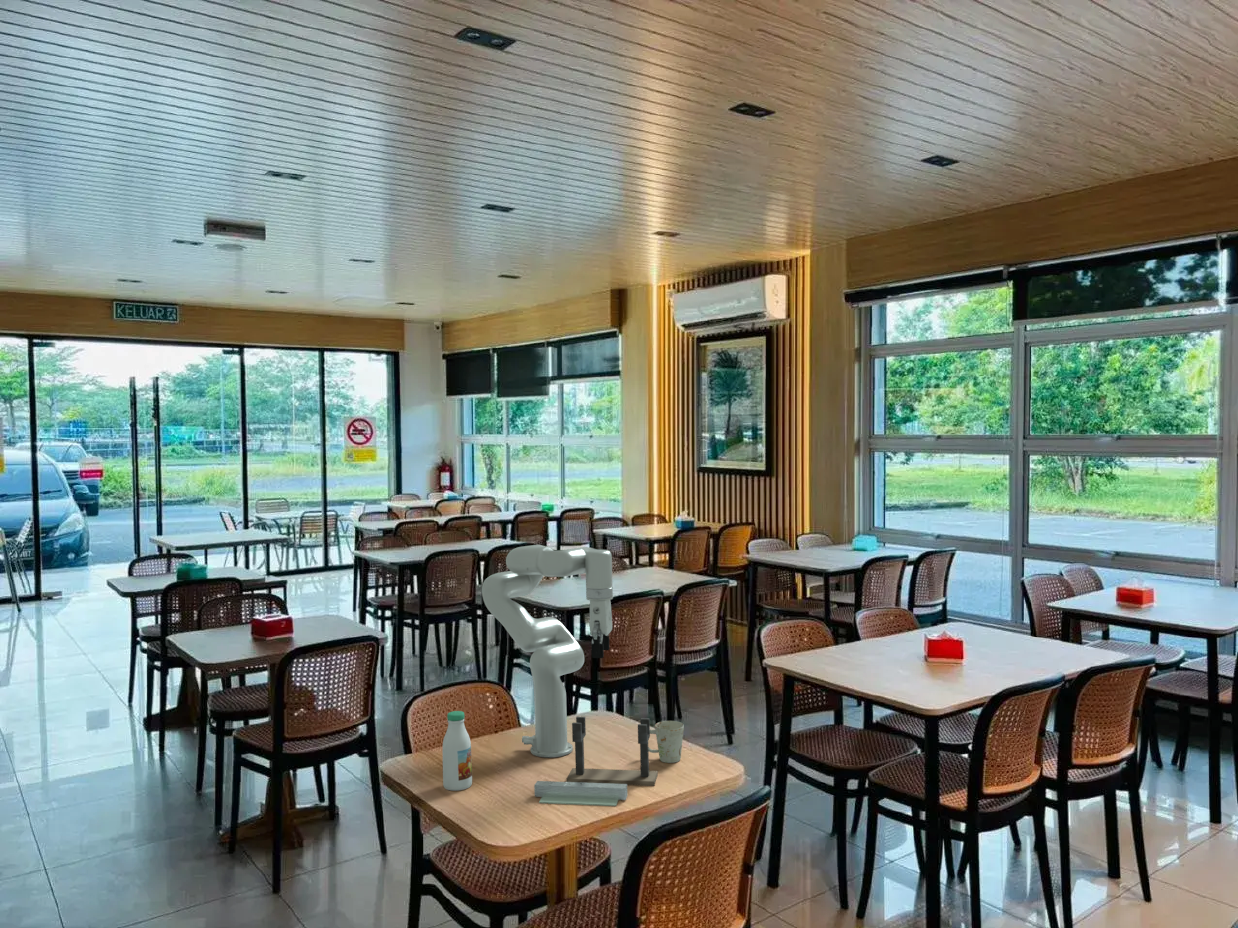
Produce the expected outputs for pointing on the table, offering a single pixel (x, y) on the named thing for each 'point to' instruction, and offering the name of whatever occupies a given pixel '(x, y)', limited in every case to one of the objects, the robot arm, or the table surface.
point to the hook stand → (611, 775)
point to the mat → (578, 801)
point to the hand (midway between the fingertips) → (600, 653)
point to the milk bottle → (456, 754)
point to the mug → (668, 740)
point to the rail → (580, 790)
